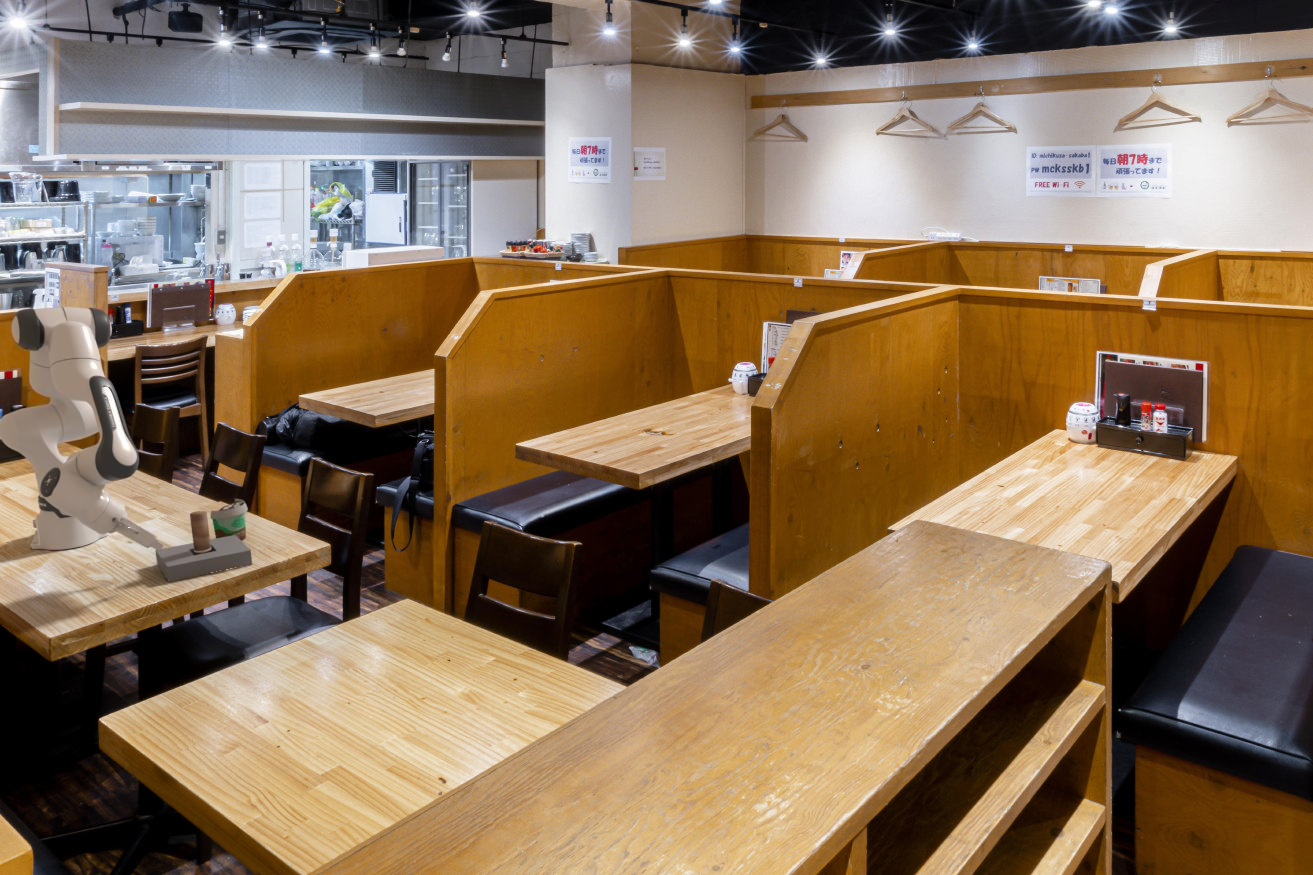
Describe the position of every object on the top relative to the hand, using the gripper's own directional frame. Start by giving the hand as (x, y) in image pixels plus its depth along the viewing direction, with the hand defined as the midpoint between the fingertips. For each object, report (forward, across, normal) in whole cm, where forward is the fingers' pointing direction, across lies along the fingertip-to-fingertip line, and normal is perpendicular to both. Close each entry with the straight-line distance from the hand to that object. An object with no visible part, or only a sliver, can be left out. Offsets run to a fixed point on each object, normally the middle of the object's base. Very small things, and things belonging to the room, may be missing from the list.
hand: (152, 543), depth 263 cm
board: (+15, 0, -2) cm, 15 cm away
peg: (+15, 0, -2) cm, 15 cm away
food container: (+26, +13, -13) cm, 31 cm away
